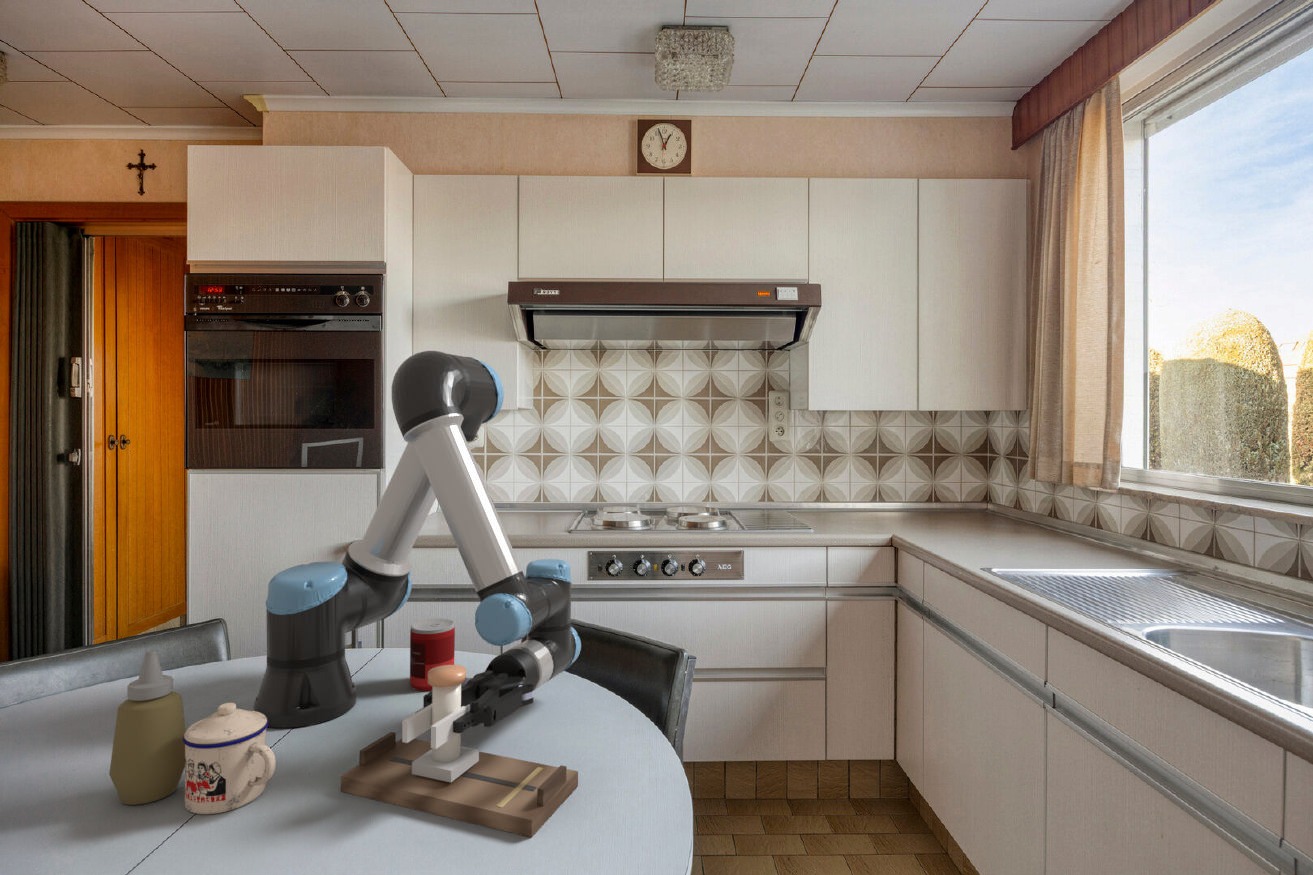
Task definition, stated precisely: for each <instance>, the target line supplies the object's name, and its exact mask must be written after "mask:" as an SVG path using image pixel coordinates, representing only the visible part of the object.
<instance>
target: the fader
mask: <svg viewBox="0 0 1313 875" xmlns="http://www.w3.org/2000/svg"><path fill="white" fill-rule="evenodd" d="M466 668H467V667H465V666H462V665H459V664H454V665H443V666H438V667H435V668H432V669H431V670H429V671H428V684H429V685H431V686H433V687H432V725H434V724H435V723H437V722H438V721H440V720H442V719H443V718H445V717H446V716H448V715H450V714H451V713H453V712H454V711H456V710H458V709H459V708H461V683H463V682H464V681H465V680H466V678H467V669H466ZM461 736H462V735H461V733H460V734H457V735H456V736H454V737H453V738H451V739H450V740H448V741H447V742H445V743H444V744H442V745H441V746H440V747H438V748H437V749H434V748H432V749H431V750H430V751H428V752H427V753H425V754H424V755H422V756H421V757H419V758H418V759H416V760H415V761H413V762H412V774H414V775H419V776H423V777H428V778H432V779H437V780H441V781H446V782H450V783H451V782H452V781H454V780H455V779H456V778H458V777H459V776H460V775H461V774H463V773H464V772H465V771H467V770H468V769H469V768H470V767H472V766H473V765H474V764H475V763H477V762H478V761H479V752H480V750H479V749H477V748H472V747H467V746H462V745H461V742H462V741H461Z"/></svg>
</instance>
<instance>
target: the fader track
mask: <svg viewBox="0 0 1313 875" xmlns="http://www.w3.org/2000/svg"><path fill="white" fill-rule="evenodd" d="M396 740H397V732H395V731H390V732H388V733H387V734H385V735H384V736H382V737H380V738H378V739H377V740H375V741H373V742H372V743H369V744H368V745H366V746H365V747H363V748H361V749H359V754H358V755H359V756H358V757H359V761H358V762H359V764H358V765H356V766H355V767H353V768H351V769H350V770H347V771H346V772H345V773H343V774H342V775H340V792H341V793H346V794H350V795H355V796H359V797H362V798H367V799H371V800H374V801H375V800H376V801H379V802H384V803H388V804H392V805H395V806H400V807H404V808H407V809H408V808H409V809H413V810H416V811H420V812H425V813H429V814H433V815H437V816H441V817H445V818H449V819H455V820H457V821H463V822H466V823H470V824H473V825H474V824H475V825H479V826H482V827H483V826H484V827H486V828H491V829H496V830H500V831H503V832H507V833H512V834H516V835H520V836H525V837H529V838H533V837H534V836H535V835H536V834H537V832H538V831H539V830H540V829H541V828H542V827H543V826H544V825H545V823H546V822H547V821H548V820H549V819H550V818H551V817H552V816H553V815H554V813H555V812H556V811H557V810H558V809H560V807H561V806H562V805H563V803H565V801H566V800H567V799H568V798H569V797H570V796H571V795H572V794H573V792H574V791H575V790H576V789H577V788H578V787H579V771H578V770H573V769H570V768H567V766H566V765H561V764H560V765H559V766H553V765H548V764H545V763H540V762H535V761H529V760H523V759H518V758H514V757H509V756H504V755H499V754H493V753H489V752H483V751H479V761H478V762H477V763H475V764H474V765H473V766H472V767H470V768H469V769H468V770H467V771H465V772H464V773H463V774H461V775H460V776H459V777H458V778H456V779H455V780H454V781H452V782H451V783H450V782H446V781H441V780H437V779H432V778H428V777H423V776H419V775H414V774H412V762H413V761H415V760H416V759H418V758H419V757H421V756H422V755H424V754H425V753H427V752H428V751H430V750H431V749H432V748H431V741H427V740H423V739H419V738H418V739H417V738H414V739H413V740H411V741H410V742H408V743H404V742H402V738H400V739H398V740H397V741H396ZM549 817H550V818H549Z"/></svg>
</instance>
